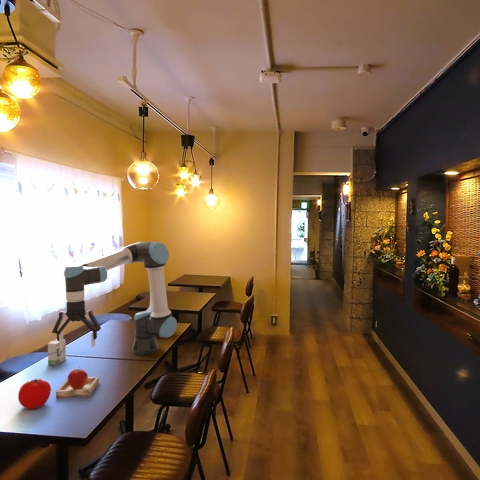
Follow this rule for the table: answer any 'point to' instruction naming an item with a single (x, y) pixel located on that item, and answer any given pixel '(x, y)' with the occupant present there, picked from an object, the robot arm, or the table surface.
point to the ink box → (56, 352)
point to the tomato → (34, 393)
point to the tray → (85, 391)
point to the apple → (77, 378)
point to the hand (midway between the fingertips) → (77, 347)
